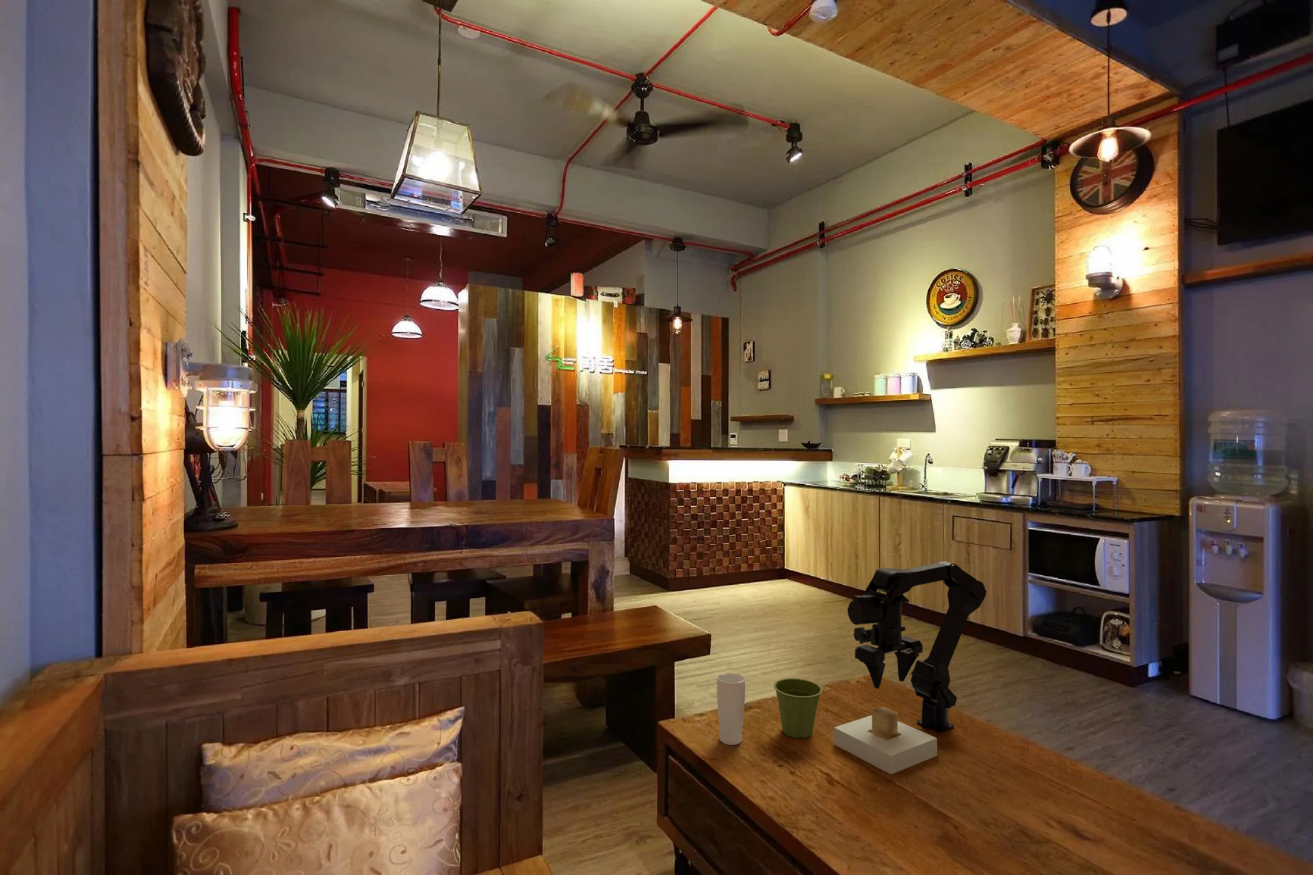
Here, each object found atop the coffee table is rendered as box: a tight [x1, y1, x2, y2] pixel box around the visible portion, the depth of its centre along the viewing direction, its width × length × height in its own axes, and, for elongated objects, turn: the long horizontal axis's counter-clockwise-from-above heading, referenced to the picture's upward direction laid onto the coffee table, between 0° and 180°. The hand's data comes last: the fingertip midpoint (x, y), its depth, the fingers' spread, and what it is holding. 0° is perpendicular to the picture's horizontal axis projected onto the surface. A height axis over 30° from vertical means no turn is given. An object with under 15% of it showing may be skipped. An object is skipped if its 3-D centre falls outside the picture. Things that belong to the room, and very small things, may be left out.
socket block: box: [833, 714, 938, 775], centre depth 146 cm, size 16×16×4 cm
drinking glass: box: [716, 672, 746, 746], centre depth 150 cm, size 7×7×15 cm
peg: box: [871, 706, 899, 740], centre depth 146 cm, size 4×4×9 cm
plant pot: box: [773, 677, 823, 739], centre depth 155 cm, size 12×12×11 cm
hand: (889, 684), depth 155 cm, fingers open, 9 cm apart
